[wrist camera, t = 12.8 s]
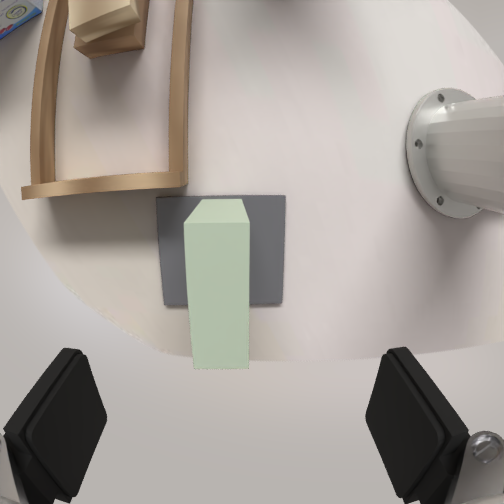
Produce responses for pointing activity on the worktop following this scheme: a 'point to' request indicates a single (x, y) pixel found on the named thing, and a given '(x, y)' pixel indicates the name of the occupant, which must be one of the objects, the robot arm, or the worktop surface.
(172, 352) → the worktop surface
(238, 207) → the pale green rectangular block
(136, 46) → the offcut lower
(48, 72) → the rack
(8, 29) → the medicine box
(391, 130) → the worktop surface
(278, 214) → the mat
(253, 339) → the worktop surface
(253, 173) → the worktop surface
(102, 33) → the offcut upper
